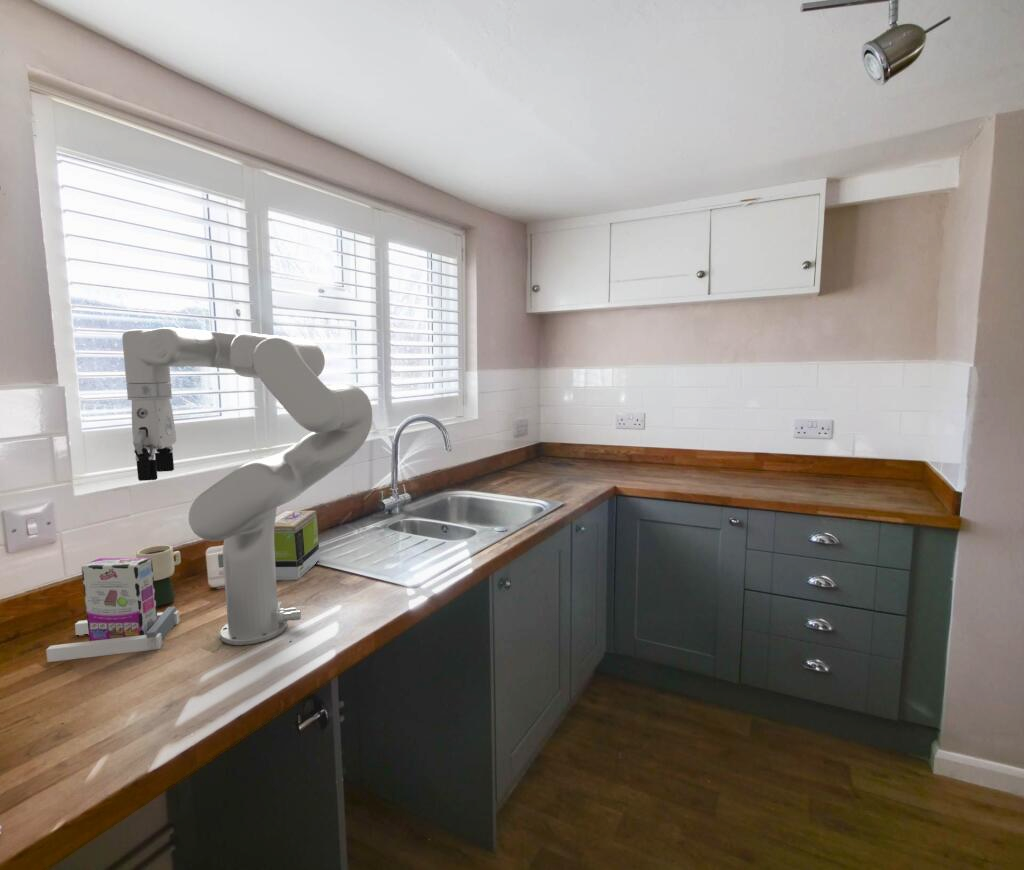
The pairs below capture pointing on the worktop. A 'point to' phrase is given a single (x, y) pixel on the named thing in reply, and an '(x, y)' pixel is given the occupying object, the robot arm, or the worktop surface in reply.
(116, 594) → the candy bar box
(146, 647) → the channel
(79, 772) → the worktop surface
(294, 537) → the tea box
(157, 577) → the character mug
